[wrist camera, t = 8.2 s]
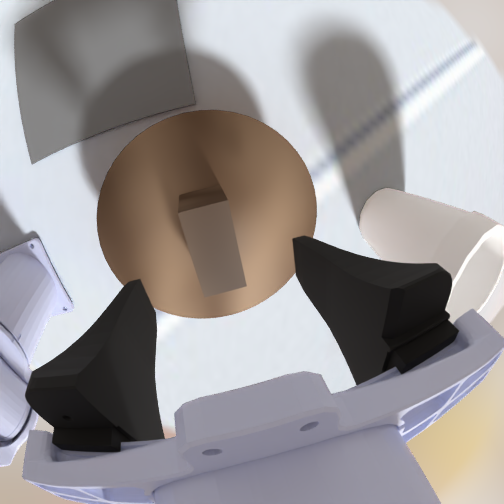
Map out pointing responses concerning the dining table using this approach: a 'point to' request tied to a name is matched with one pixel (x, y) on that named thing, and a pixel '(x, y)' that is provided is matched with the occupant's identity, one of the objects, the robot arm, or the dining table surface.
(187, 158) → the lid
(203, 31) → the dining table surface
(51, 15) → the mat
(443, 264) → the foam cup
